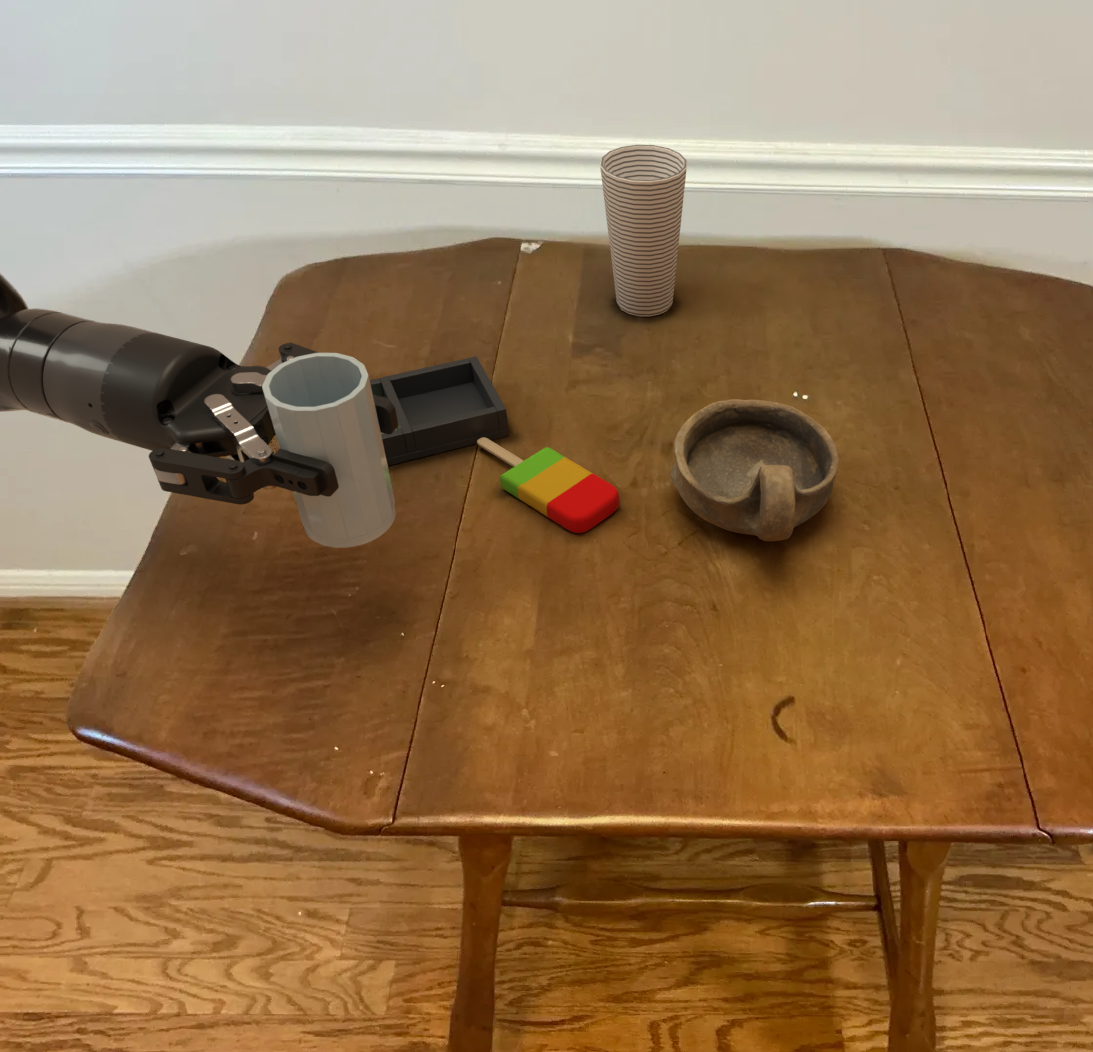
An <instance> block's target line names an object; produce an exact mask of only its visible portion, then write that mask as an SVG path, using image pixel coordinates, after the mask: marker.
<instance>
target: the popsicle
mask: <svg viewBox="0 0 1093 1052" xmlns="http://www.w3.org/2000/svg"><path fill="white" fill-rule="evenodd" d="M476 445H478V446H479V447H480V448H482V449H484V450H485V451H487V452H489V453H490V454H492V455H494V456H495V457H497V458H498V459H500V460H502V461H503V462H504V463H506V464H508V465H509V466H511V468H510V469H509V470H507V471H506V472H504V473H502V474H500V476H499V482H500V487H501V489H503V490H505V491H506V492H507V493H509V494H510V495H512V496H514V497H515V498H517V499H518V500H520V501H521V502H523V503H525V504H526V505H527V506H529V507H531V508H532V509H534V510H536V511H537V512H539V513H540V514H542V515H544V516H545V517H547V518H548V519H550V520H552V521H553V522H554V523H555V524H558V525H560V526H561V527H562V528H564V529H566V530H568V531H569V532H571V533H574V534H582V533H585V532H588V531H589V530H591V529H593V528H594V527H596V526H597V525H598V524H600V523H601V522H603V521H604V520H605V519H607V518H608V517H611V515H612V514H614V513H615V512H616V511H617V509H618V507H619V506H620V494H619V490H618V489H617V487H615V486H614V485H613V484H612V483H610V482H608V481H607V480H605V479H603V478H602V477H600V476H598V475H597V474H595V473H593V472H591V470H588V469H586V468H584V467H583V466H581V465H580V464H579V463H577V462H575V461H573V460H571V459H569V458H568V457H566V456H565V455H563V454H561V453H559V452H557V451H556V450H554V449H553V448H551V447H549V446H546V447H545V446H544V447H543V448H541V449H540V450H539V451H537V452H535V453H533V454H532V455H530V456H529V457H527V458H526V459H522V458H520V457H519V456H517V455H515V454H514V453H512V452H511V451H509V450H507V449H505V448H504V447H502V446H501V445H499V444H497V442H496V443H495V442H494V441H492V440H489V439H487V438H485V437H482V438H480V439H478V440H477V444H476Z"/></svg>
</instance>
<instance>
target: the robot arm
mask: <svg viewBox="0 0 1093 1052" xmlns="http://www.w3.org/2000/svg"><path fill="white" fill-rule="evenodd" d="M278 352H279V356H280V358H279V359H277V360H275V361H274V362H273V363H271V364H270V365H267V366H262V365H239V364H238V363H236V362H234V361H233V360H232V359H230V358H229V357H227V355H225V354H224V353H223V352H222V351H220V350H219V349H216V348H214V347H212V346H209V345H205V344H201V343H198V342H195V341H194V342H193V341H190V340H185V339H182V338H179V337H174V336H171V335H166V334H162V333H159V332H155V331H151V330H147V329H143V328H139V327H135V326H131V325H126V324H121V323H112V322H111V323H110V322H101V321H96V320H92V319H88V318H84V317H81V316H77V315H72V314H70V313H65V312H62V311H58V310H52V309H47V308H46V309H45V308H33V307H32V308H29V306H28V303H27V302H26V300H25V299H24V297H23V296H22V294H21V293H20V292H19V291H18V290H17V289H16V288H15V286H14V285H13V284H12V283H11V282H10V281H9V280H8V279H7V278H6V277H5V276H4V275H3V274H2V273H1V272H0V412H3V413H4V412H17V411H28V412H31V413H33V414H37V415H39V416H44V417H47V418H50V419H53V420H58V421H61V422H64V423H68V424H71V425H74V426H76V427H79V428H81V429H83V430H84V431H87V432H89V433H91V434H94V435H97V436H100V437H103V438H107V439H110V440H113V441H117V442H120V443H124V444H127V445H131V446H134V447H137V448H141V449H145V450H148V451H151V452H149V454H148V459H149V461H150V464H151V466H152V470H153V472H154V474H155V476H156V479H157V482H158V484H159V486H160V489H161V490H162V491H164V492H167V493H173V494H179V495H184V496H190V497H195V498H201V499H205V500H211V501H217V502H223V503H228V504H234V505H241V506H242V505H246V504H249V503H251V502H252V501H253V500H254V498H255V494H254V493H255V492H257V491H259V490H261V489H264V490H273V489H276V488H280V489H283V490H288V491H290V492H293V491H294V492H295V491H296V492H298V493H302V494H305V495H308V496H319V495H323V496H327V497H330V496H332V495H333V494H334V493H335V491H336V490H337V489H338V488H339V485H338V481H337V477H336V473H335V470H334V467H333V466H332V465H331V464H330V463H328V462H326V461H322V460H319V459H315V458H311V457H308V456H303V455H300V454H296V453H292V452H290V451H286V450H283V449H280V448H279V449H278V450H276V452H275V453H274V451H273V448H271V446H270V444H271V442H272V440H273V439H274V437H276V433H275V430H274V426H273V423H272V420H271V416H270V413H269V409H268V406H267V403H266V399H265V396H264V392H263V389H262V385H263V383H264V381H265V378H266V376H267V375H268V374H269V373H270V372H271V371H272V370H273V369H275V368H276V367H277V366H278V365H280V364H282V363H284V362H286V361H288V360H291V359H293V358H295V357H298V356H303V355H308V354H313V353H320V351H319V352H318V351H316V350H313V349H311V348H308V347H304V346H302V345H299V344H297V343H294V342H286V343H283V344H281V345H280V346H279V347H278ZM373 399H374V403H375V408H376V413H377V418H378V422H379V427H380V432H381V433H385V434H392V433H393V432H394V431H395V429H396V428H397V427H398V420H397V415H396V410H395V407H394V405H393V404H392V403H391V401H390V400H389V399H387V398H385V397H381V396H377V395H373ZM220 479H225V481H222V480H220Z"/></svg>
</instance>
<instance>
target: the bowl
mask: <svg viewBox="0 0 1093 1052" xmlns="http://www.w3.org/2000/svg"><path fill="white" fill-rule="evenodd" d="M673 441H674V442H673V452H674V453H673V454H674V458H675V462H674V463H673V465H672V467H671V468H670V469H671V470H670V473H669V476H670V480H671V483H672V485H673V486H674V488H675V489H676V490H677V492H678V494H679V496H680V498H681V499H682V500H683V501H684V503H685V504H686V505H687V507H688V508H689V509H690V510H691V511H692V512H693V513H694V514H695V515H697V516H698V517H700V518H701V519H702V520H703V521H706V522H708V523H709V524H711V525H714V526H716V527H718V528H720V529H724V530H726V531H728V532H733V533H738V534H743V535H749V536H757V538H758V539H759V540H761V541H764V542H778V541H784V540H785V541H786V540H788V539H789V538H790V537H791V536H792V534H793V532H794V528H795V527H798V526H800V525H801V524H804V523H806V522H807V521H808V520H809V519H811V518H812V517H813V516H815V515H816V514H818V513H819V512H820V511H821V510H822V509H823V508H824V507H825V505H826V504H827V502H828V501H829V500H830V497H831V495H832V492H833V487H834V480H835V478H836V477H837V476H836V475H837V472H838V468H839V461H840V460H839V452H838V449H837V446H836V443H835V441H834V439H833V438H832V436H831V434H830V433H829V432H828V431H827V430H826V428H825V427H824V426H823V425H822V424H820V423H819V422H818V421H816V420H815V419H813V418H812V417H811V416H809V415H808V414H806V413H805V412H803V411H801V410H800V409H797V408H795V407H793V406H791V405H789V404H783V403H781V402H776V401H769V400H762V399H761V400H760V399H740V398H733V399H732V398H731V399H725V400H719V401H715V402H711V403H710V404H707V405H706V406H704V407H702V408H701V409H699V410H697V411H695V413H693V414H692V415H691V416H690V417H689V418H688V419H686V420H685V422H684V423H683V424H682V425H681V427H680V428H679V430H678V431H677V433H676V434H675V438H674V440H673Z"/></svg>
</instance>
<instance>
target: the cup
mask: <svg viewBox="0 0 1093 1052" xmlns="http://www.w3.org/2000/svg"><path fill="white" fill-rule="evenodd" d="M599 168H600V176H601V184H602V185H601V186H602V192H603V201H604V209H605V217H606V218H605V219H606V225H607V234H608V242H609V250H610V259H611V267H612V273H613V275H612V276H613V283H614V291H615V300H616V301H615V302H616V304H617V306H618V307H619V309H620V310H621V311H623V312H624V313H625V314H628V315H632V316H636V317H655V316H660V315H661V314H664V313H666V312H668V310H669V309H670V308H671V307H672V306H673V302H674V292H675V283H676V275H677V264H678V255H679V254H678V253H679V246H680V234H681V226H682V225H681V224H682V217H683V208H684V199H685V198H684V197H685V187H686V178H687V169H688V160H687V159H686V158H685V157H684V156H683V154H681V153H680V152H678V151H677V150H674V149H671V148H669V147H665V146H660V145H655V144H632V145H626V146H625V145H624V146H620V147H618V148H614V149H611V150H609V151H608V152H607V153H605V154H604V155H603V156H602V157H601V158H600V163H599Z"/></svg>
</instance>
